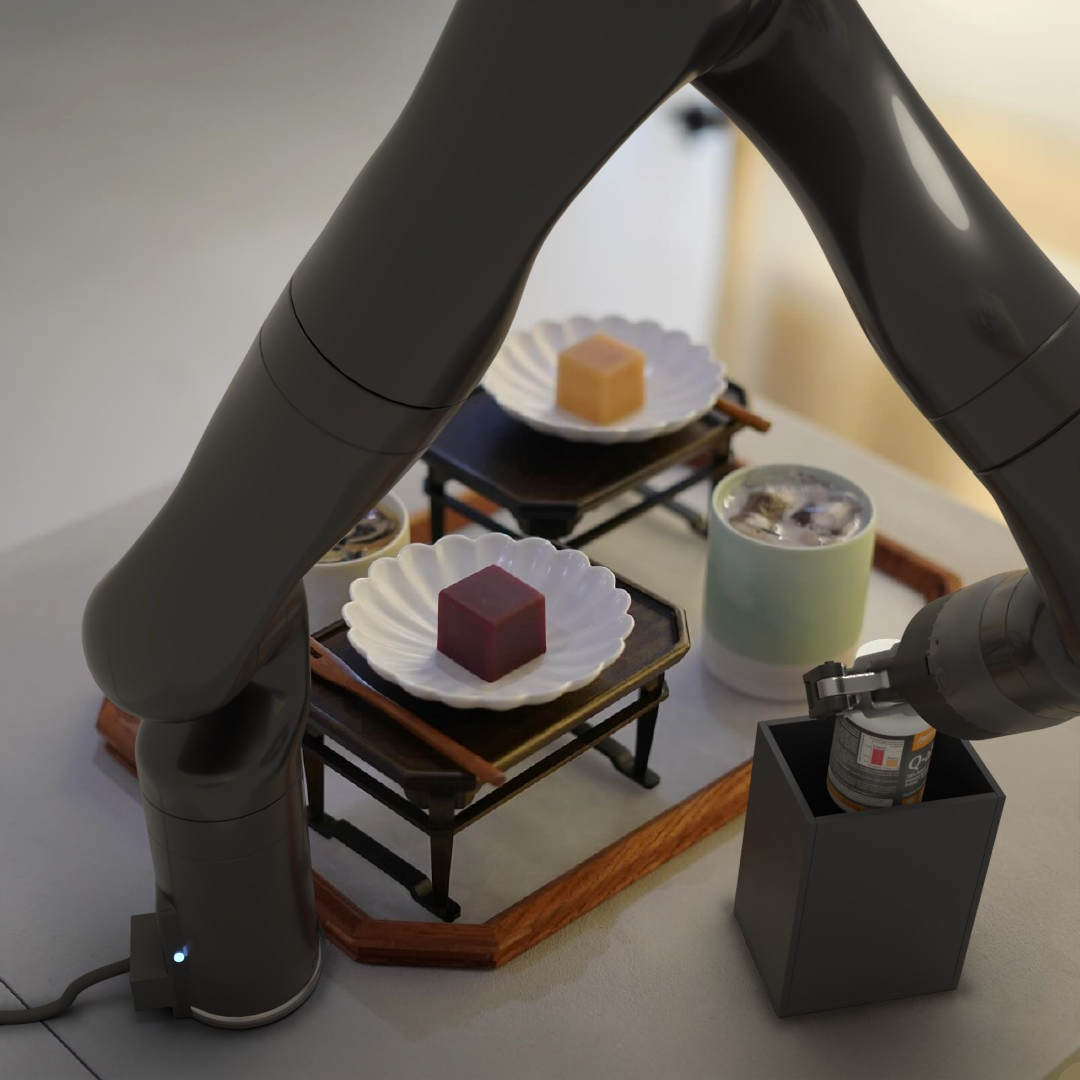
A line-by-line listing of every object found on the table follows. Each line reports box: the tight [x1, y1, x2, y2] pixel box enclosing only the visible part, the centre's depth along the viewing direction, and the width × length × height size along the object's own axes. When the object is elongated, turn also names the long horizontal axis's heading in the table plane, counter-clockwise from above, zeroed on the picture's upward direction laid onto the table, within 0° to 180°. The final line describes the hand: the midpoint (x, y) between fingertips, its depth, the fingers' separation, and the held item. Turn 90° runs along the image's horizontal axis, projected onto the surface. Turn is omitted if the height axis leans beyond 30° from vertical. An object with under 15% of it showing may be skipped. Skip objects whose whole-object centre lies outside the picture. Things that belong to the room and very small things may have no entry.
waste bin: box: [733, 714, 1007, 1018], centre depth 94 cm, size 12×9×16 cm
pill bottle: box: [827, 638, 936, 813], centre depth 88 cm, size 6×6×10 cm
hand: (875, 694), depth 89 cm, fingers closed on pill bottle, 5 cm apart
